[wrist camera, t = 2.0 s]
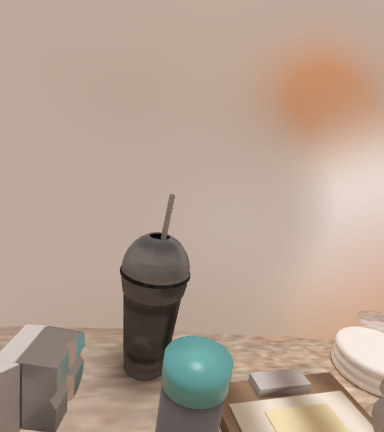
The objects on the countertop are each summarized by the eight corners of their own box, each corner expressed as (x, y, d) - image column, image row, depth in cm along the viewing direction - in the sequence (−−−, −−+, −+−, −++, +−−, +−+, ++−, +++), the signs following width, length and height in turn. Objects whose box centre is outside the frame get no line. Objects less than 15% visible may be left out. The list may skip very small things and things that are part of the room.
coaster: (398, 356, 48) (405, 334, 47) (432, 412, 38) (442, 385, 38) (323, 340, 49) (329, 318, 48) (339, 389, 40) (346, 363, 39)
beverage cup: (153, 338, 44) (172, 183, 39) (189, 373, 39) (217, 199, 34) (99, 357, 39) (113, 184, 34) (133, 400, 34) (155, 203, 29)
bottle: (151, 534, 23) (173, 385, 20) (141, 468, 28) (158, 337, 24) (215, 519, 25) (244, 378, 22) (196, 459, 29) (219, 334, 26)
